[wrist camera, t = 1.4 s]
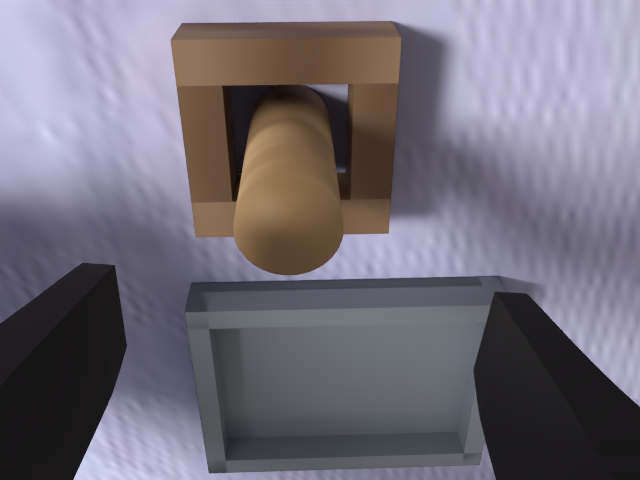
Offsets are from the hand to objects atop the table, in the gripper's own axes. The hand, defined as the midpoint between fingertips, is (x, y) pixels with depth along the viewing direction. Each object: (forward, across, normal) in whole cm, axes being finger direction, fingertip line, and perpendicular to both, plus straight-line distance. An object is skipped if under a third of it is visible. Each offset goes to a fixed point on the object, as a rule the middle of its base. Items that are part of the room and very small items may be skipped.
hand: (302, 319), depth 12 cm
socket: (+10, +1, 0) cm, 10 cm away
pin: (+10, +1, 0) cm, 10 cm away
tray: (+10, -2, +11) cm, 15 cm away
